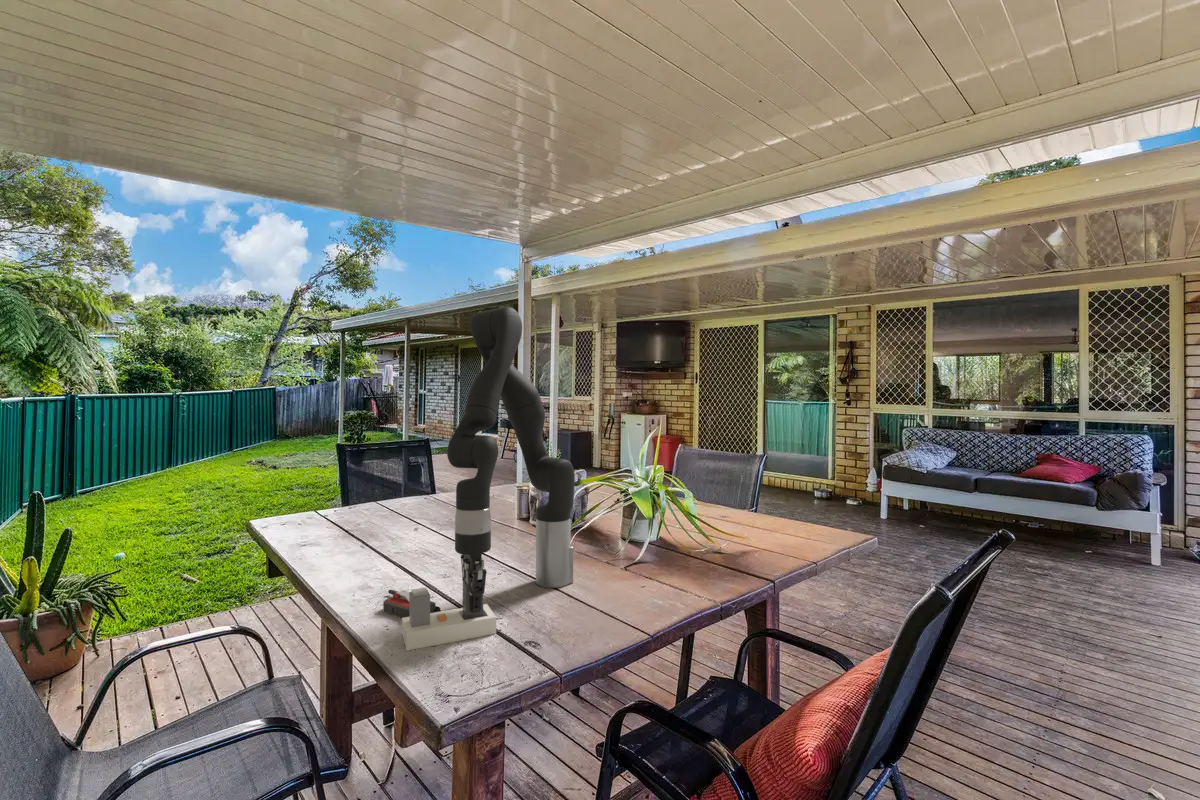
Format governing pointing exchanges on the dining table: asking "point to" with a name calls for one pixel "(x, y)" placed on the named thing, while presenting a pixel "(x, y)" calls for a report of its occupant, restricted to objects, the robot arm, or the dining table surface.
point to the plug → (466, 603)
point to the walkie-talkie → (402, 604)
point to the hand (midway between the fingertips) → (472, 607)
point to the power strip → (441, 623)
